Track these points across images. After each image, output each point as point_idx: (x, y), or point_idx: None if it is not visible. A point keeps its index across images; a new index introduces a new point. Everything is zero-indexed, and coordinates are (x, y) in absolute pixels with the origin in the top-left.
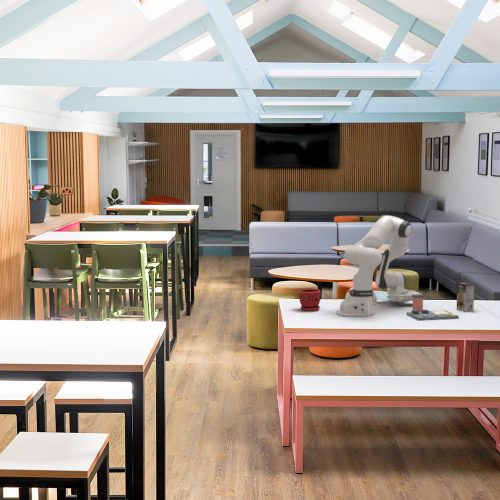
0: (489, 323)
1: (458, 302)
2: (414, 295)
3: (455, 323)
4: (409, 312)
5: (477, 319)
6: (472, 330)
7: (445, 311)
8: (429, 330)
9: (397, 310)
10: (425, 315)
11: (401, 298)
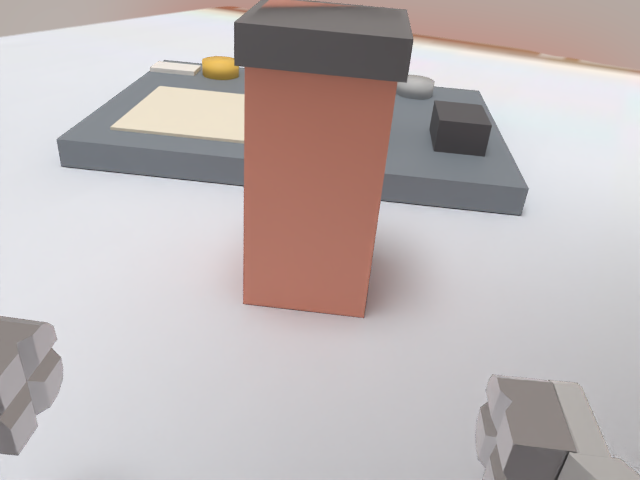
0: (121, 28)
1: None
2: (408, 18)
3: None
4: (497, 177)
5: (81, 55)
6: None
7: (107, 122)
8: (486, 44)
9: (615, 439)
10: (419, 77)
11: (577, 387)
